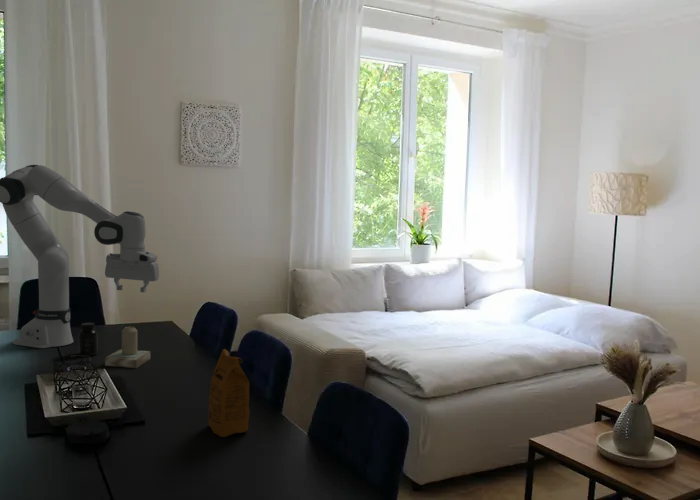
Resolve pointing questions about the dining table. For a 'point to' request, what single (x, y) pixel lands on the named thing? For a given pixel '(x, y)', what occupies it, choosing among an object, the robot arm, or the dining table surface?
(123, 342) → the candle
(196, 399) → the dining table surface
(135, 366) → the plinth
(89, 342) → the supplement bottle
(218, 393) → the coffee package
